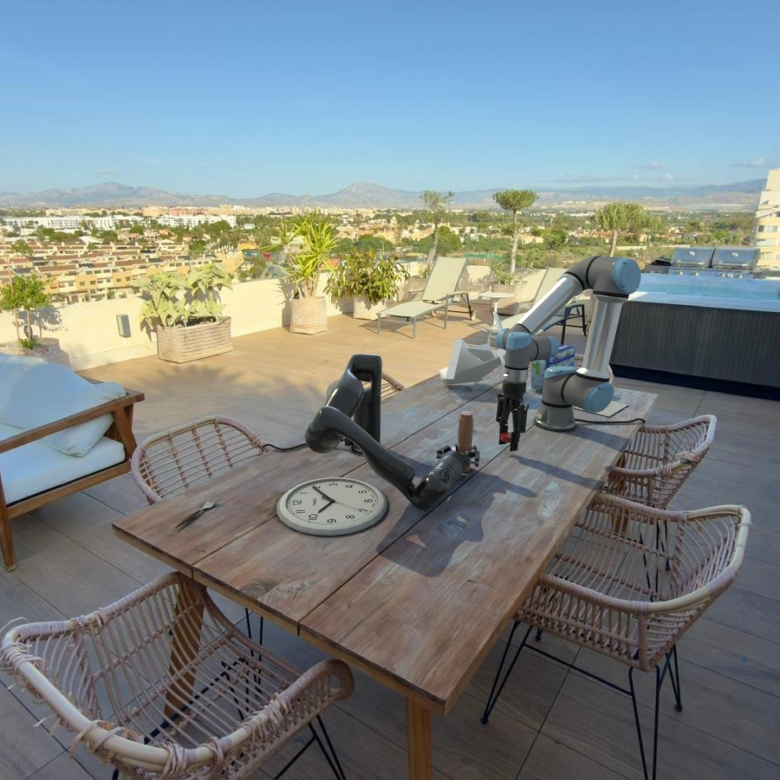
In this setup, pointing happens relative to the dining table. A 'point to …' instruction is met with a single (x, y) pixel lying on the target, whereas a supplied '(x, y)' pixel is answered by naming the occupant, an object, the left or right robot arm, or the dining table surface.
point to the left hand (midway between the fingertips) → (467, 446)
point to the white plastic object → (473, 361)
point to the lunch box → (551, 365)
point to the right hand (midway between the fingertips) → (507, 447)
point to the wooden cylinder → (465, 433)
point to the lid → (506, 437)
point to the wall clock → (331, 506)
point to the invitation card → (610, 408)
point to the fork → (206, 505)
